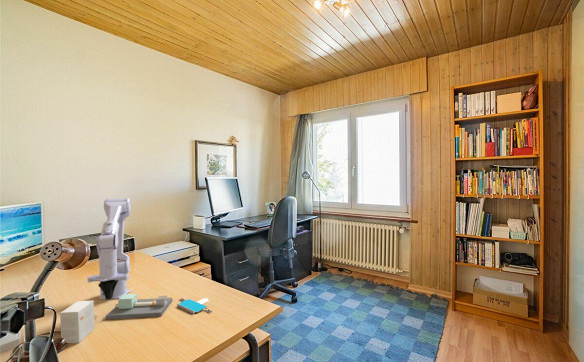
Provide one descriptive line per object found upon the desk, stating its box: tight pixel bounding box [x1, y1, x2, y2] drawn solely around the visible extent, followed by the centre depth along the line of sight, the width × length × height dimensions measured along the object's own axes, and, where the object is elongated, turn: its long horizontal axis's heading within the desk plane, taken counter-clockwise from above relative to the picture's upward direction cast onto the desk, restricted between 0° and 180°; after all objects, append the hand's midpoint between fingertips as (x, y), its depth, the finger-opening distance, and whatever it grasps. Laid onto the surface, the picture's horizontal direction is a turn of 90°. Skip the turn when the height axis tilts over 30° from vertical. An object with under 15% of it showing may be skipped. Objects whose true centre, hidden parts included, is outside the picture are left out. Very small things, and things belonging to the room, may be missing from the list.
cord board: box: [105, 297, 173, 320], centre depth 106 cm, size 20×12×2 cm, turn 96°
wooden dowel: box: [114, 301, 166, 308], centre depth 106 cm, size 19×2×2 cm, turn 96°
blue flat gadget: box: [176, 297, 213, 315], centre depth 110 cm, size 20×12×2 cm, turn 57°
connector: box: [155, 295, 168, 307], centre depth 107 cm, size 3×3×3 cm
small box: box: [59, 300, 96, 344], centre depth 89 cm, size 8×6×10 cm
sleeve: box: [117, 293, 138, 309], centre depth 106 cm, size 5×4×4 cm
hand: (109, 298), depth 105 cm, fingers closed
